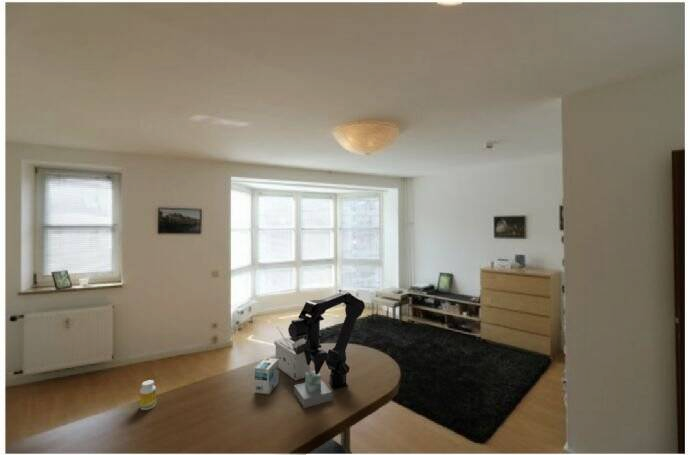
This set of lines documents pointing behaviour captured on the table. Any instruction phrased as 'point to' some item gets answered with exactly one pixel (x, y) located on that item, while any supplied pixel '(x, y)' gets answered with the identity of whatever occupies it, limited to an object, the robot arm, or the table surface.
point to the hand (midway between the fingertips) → (312, 369)
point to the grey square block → (312, 395)
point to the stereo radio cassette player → (290, 359)
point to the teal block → (312, 381)
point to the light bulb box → (266, 375)
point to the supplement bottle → (147, 395)
